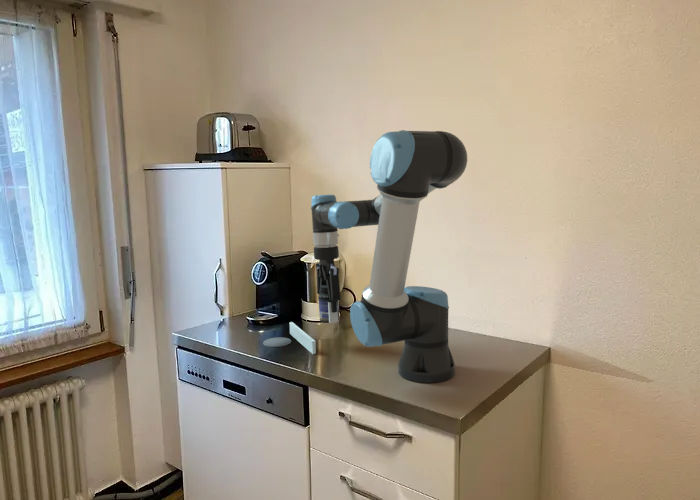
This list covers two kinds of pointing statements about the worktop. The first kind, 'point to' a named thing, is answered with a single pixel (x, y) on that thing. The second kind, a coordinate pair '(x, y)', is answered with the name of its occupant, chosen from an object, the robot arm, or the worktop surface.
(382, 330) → the robot arm
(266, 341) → the coaster
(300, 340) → the divider wall
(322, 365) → the worktop surface
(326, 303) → the pill bottle
